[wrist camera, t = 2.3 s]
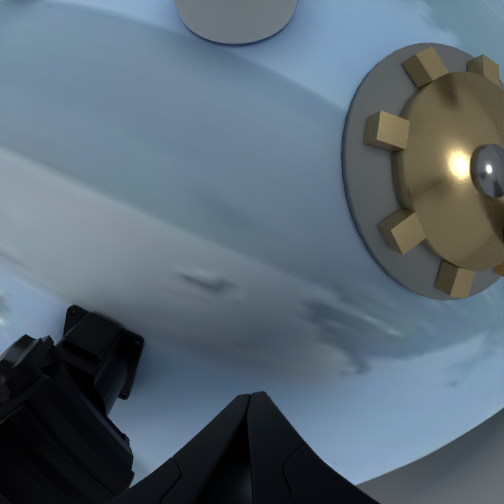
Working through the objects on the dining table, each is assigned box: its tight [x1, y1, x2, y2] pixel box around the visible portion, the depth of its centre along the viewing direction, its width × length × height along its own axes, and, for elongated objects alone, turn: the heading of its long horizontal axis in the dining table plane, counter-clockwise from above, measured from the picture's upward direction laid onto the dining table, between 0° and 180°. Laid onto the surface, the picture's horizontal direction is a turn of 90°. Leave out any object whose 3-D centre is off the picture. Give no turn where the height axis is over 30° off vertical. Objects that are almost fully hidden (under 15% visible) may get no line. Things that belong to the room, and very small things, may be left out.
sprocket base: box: [341, 43, 504, 300], centre depth 19 cm, size 20×20×1 cm
